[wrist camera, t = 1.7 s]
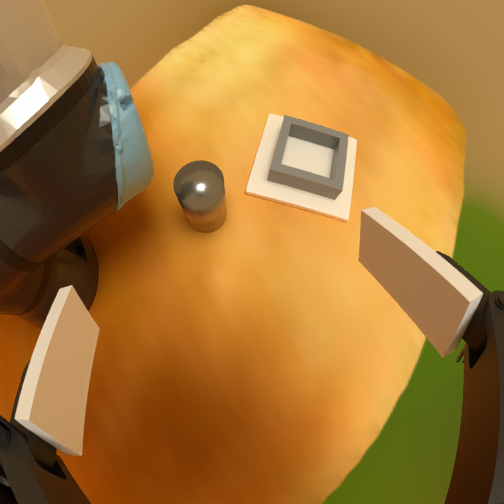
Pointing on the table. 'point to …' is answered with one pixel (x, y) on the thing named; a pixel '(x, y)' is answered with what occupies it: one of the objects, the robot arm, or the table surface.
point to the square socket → (304, 167)
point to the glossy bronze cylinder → (201, 195)
